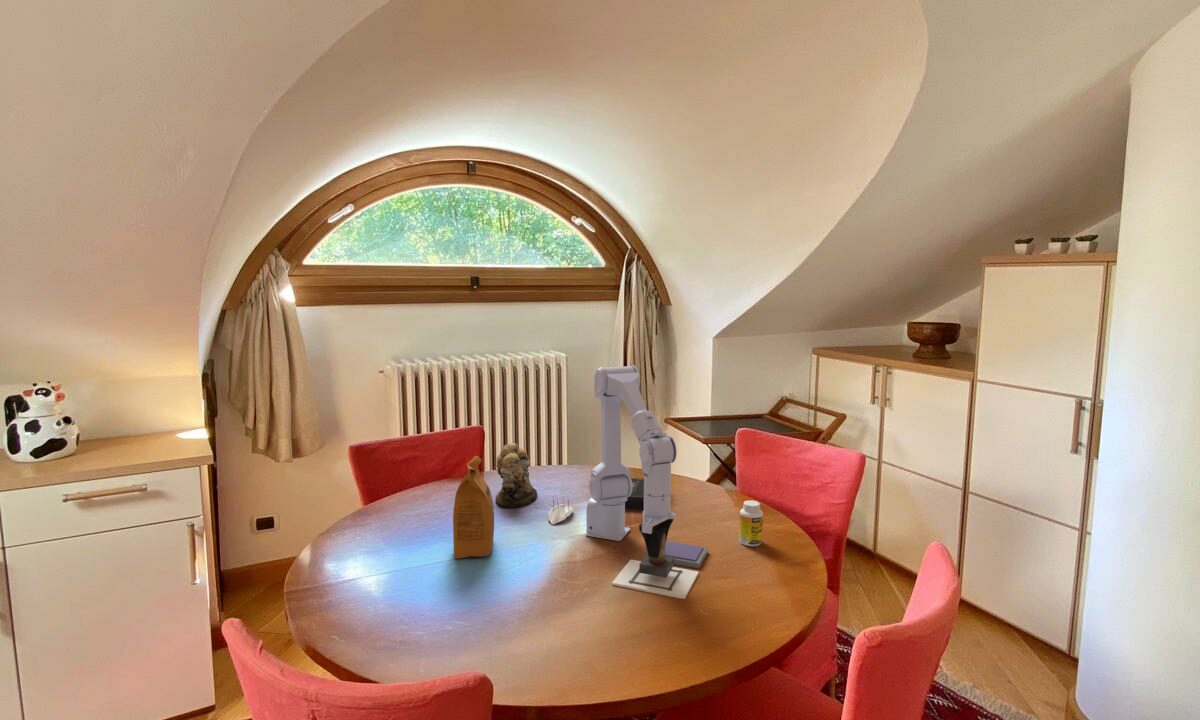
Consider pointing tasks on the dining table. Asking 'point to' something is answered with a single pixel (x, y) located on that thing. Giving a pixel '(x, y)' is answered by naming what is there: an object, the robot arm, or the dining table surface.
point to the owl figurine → (514, 477)
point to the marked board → (656, 580)
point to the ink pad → (686, 554)
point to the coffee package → (473, 515)
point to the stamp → (657, 563)
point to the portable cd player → (636, 495)
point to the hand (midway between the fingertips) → (656, 552)
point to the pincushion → (559, 512)
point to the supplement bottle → (751, 524)
